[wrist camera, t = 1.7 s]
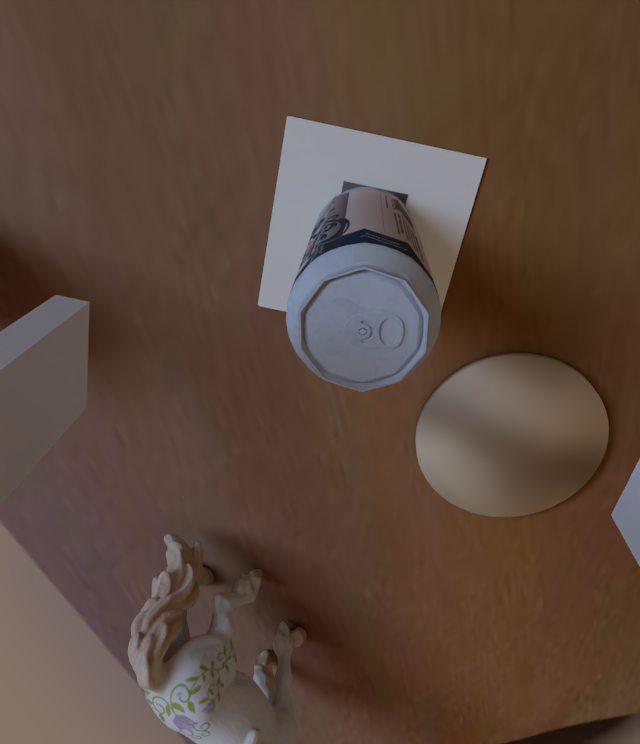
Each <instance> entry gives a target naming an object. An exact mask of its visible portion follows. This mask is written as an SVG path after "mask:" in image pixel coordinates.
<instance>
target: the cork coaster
mask: <svg viewBox="0 0 640 744" xmlns="http://www.w3.org/2000/svg"><path fill="white" fill-rule="evenodd" d="M608 436H609V424H608V417H607V413H606V409H605V407H604V404H603V402H602V400H601V398H600V397H599V395H598V393H597V392H596V390H595V389H594V388H593V386H592V385H591V384H590V383H589V381H588V380H587V379H586V378H585V377H584V376H583V375H582V374H580V373H579V372H578V371H577V370H576V369H574V368H573V367H571V366H569V365H568V364H566V363H564V362H562V361H559V360H557V359H555V358H552V357H548V356H545V355H541V354H535V353H528V352H511V353H501V354H496V355H491V356H487V357H484V358H481V359H478V360H475V361H473V362H471V363H469V364H467V365H465V366H463V367H461V368H460V369H458V370H456V371H455V372H453V373H452V374H451V375H449V376H448V377H447V378H445V379H444V380H443V381H442V382H441V383H440V384H439V385H438V386H437V387H436V388H435V389H434V391H433V392H432V393H431V395H430V396H429V397H428V399H427V400H426V402H425V404H424V406H423V408H422V410H421V413H420V415H419V418H418V422H417V426H416V435H415V442H416V452H417V457H418V462H419V465H420V468H421V470H422V472H423V474H424V476H425V478H426V479H427V481H428V483H429V484H430V485H431V486H432V487H433V489H434V490H435V491H436V492H437V493H438V494H439V495H441V496H442V497H443V498H444V499H446V500H447V501H449V502H450V503H452V504H453V505H455V506H457V507H459V508H461V509H464V510H466V511H469V512H472V513H476V514H480V515H485V516H491V517H517V516H523V515H529V514H533V513H537V512H540V511H543V510H546V509H548V508H551V507H553V506H555V505H557V504H559V503H561V502H563V501H564V500H566V499H567V498H569V497H571V496H572V495H573V494H575V493H576V492H577V491H578V490H579V489H581V488H582V487H583V486H584V485H585V484H586V483H587V482H588V481H589V479H590V478H591V477H592V476H593V474H594V473H595V472H596V470H597V468H598V467H599V465H600V463H601V461H602V459H603V456H604V454H605V451H606V447H607V443H608Z"/></svg>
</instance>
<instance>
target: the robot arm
mask: <svg viewBox="0 0 640 744" xmlns="http://www.w3.org/2000/svg"><path fill="white" fill-rule="evenodd" d="M89 303H90V302H88V301H83V300H79V299H74V298H69V297H64V296H59V295H55V296H53V297H52V298H50V299H49V300H47V301H46V302H44V303H43V304H41V305H40V306H38V307H37V308H35V309H34V310H32V311H31V312H29V313H28V314H26V315H25V316H23V317H21V318H20V319H18V320H17V321H15V322H14V323H12V324H11V325H9V326H8V327H6V328H5V329H3V330H2V331H0V505H1V504H2V503H3V502H4V501H5V499H6V498H7V497H8V496H9V495H10V494H11V493H12V491H13V490H14V489H15V488H16V487H17V486H18V485H19V483H20V482H21V481H22V480H23V479H24V478H25V477H26V476H27V474H28V473H29V472H30V471H31V470H32V469H33V468H34V466H35V465H36V464H37V463H38V462H39V461H40V460H41V459H42V457H43V456H44V455H45V454H46V453H47V452H48V451H49V449H50V448H51V447H52V446H53V445H54V444H55V443H56V442H57V440H58V439H59V438H60V437H61V436H62V435H63V434H64V432H65V431H66V430H67V429H68V428H69V427H70V426H71V425H72V423H73V422H74V421H75V420H76V419H77V418H78V417H79V415H80V414H81V413H82V412H83V411H84V410H85V409H86V407H87V374H88V338H89ZM611 516H612V518H613V520H614V522H615V523H616V525H617V527H618V529H619V530H620V532H621V534H622V536H623V538H624V539H625V541H626V543H627V545H628V546H629V548H630V550H631V552H632V554H633V555H634V557H635V559H636V561H637V562H638V564H639V566H640V459H639V461H638V463H637V465H636V467H635V469H634V471H633V473H632V475H631V477H630V479H629V481H628V483H627V485H626V487H625V489H624V491H623V493H622V495H621V497H620V498H619V500H618V502H617V504H616V506H615V508H614V510H613V512H612V514H611Z"/></svg>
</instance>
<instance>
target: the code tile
mask: <svg viewBox="0 0 640 744" xmlns="http://www.w3.org/2000/svg"><path fill="white" fill-rule="evenodd" d="M486 160H487V158H483V157H479V156H474V155H469V154H464V153H460V152H455V151H450V150H446V149H441V148H436V147H432V146H427V145H422V144H418V143H413V142H408V141H404V140H399V139H394V138H390V137H385V136H380V135H376V134H371V133H366V132H362V131H357V130H352V129H347V128H343V127H338V126H333V125H329V124H324V123H319V122H315V121H310V120H305V119H301V118H296V117H291V116H287V120H286V127H285V133H284V140H283V146H282V153H281V159H280V165H279V172H278V178H277V185H276V191H275V198H274V204H273V210H272V217H271V223H270V230H269V236H268V243H267V249H266V255H265V262H264V268H263V275H262V281H261V288H260V294H259V300H258V306H261V307H266V308H271V309H276V310H281V311H285V312H287V302H288V298H289V295H290V292H291V289H292V286H293V284H294V281H295V278H296V275H297V273H298V270H299V267H300V264H301V262H302V259H303V256H304V254H305V251H306V248H307V245H308V243H309V240H310V237H311V234H312V232H313V229H314V226H315V224H316V221H317V219H318V217H319V215H320V213H321V211H322V210H323V209H324V207H325V206H326V205H327V204H328V202H329V201H330V200H332V199H333V198H334V197H335V196H337V195H339V194H340V193H342V192H344V191H346V190H350V189H353V188H356V187H375V188H379V189H382V190H385V191H387V192H389V193H391V194H393V195H395V196H396V197H397V198H399V199H400V200H401V201H402V202H403V203H404V205H405V206H406V207H407V209H408V210H409V211H410V213H411V215H412V217H413V220H414V222H415V225H416V228H417V231H418V234H419V237H420V240H421V243H422V247H423V250H424V253H425V256H426V259H427V262H428V265H429V268H430V271H431V274H432V277H433V280H434V284H435V287H436V290H437V293H438V296H439V300H440V305H441V310H442V307H443V303H444V300H445V297H446V293H447V290H448V287H449V283H450V280H451V277H452V273H453V270H454V267H455V263H456V260H457V257H458V253H459V250H460V247H461V243H462V240H463V237H464V233H465V230H466V227H467V223H468V220H469V217H470V213H471V210H472V207H473V203H474V200H475V197H476V193H477V190H478V187H479V183H480V180H481V177H482V173H483V170H484V167H485V163H486Z"/></svg>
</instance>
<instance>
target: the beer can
mask: <svg viewBox="0 0 640 744" xmlns="http://www.w3.org/2000/svg"><path fill="white" fill-rule="evenodd" d="M286 322H287V329H288V335H289V338H290V340H291V343H292V345H293V347H294V349H295V352H296V353H297V354H298V356H299V357H300V358H301V359H302V361H303V362H304V363H305V364H306V366H307V367H308V368H309V369H310V370H311V371H313V372H314V373H315V374H316V375H318V376H319V377H321V378H322V379H323V380H325V381H328V382H331V383H334V384H337V385H339V386H341V387H346V388H350V389H354V390H357V391H360V392H363V391H367V390H371V389H375V388H382V387H384V386H387V385H390V384H393V383H397V382H400V381H401V380H403V379H405V378H406V377H408V376H409V375H410V374H412V373H413V372H414V371H416V370H417V369H418V367H419V366H420V365H421V364H422V363H423V362H424V361H425V360H426V359H427V357H428V356H429V355H430V353H431V351H432V349H433V347H434V345H435V343H436V341H437V338H438V335H439V330H440V325H441V305H440V300H439V296H438V293H437V290H436V287H435V284H434V280H433V277H432V274H431V271H430V268H429V265H428V262H427V259H426V256H425V253H424V250H423V247H422V243H421V240H420V237H419V234H418V231H417V228H416V225H415V222H414V220H413V217H412V215H411V213H410V211H409V210H408V209H407V207H406V206H405V205H404V203H403V202H402V201H401V200H400V199H399V198H397V197H396V196H395V195H393V194H391V193H389V192H387V191H385V190H382V189H379V188H375V187H356V188H353V189H350V190H346V191H344V192H342V193H340V194H339V195H337V196H335V197H334V198H333V199H332V200H330V201H329V202H328V204H327V205H326V206H325V207H324V209H323V210H322V211H321V213H320V215H319V217H318V219H317V221H316V224H315V226H314V229H313V232H312V234H311V237H310V240H309V243H308V245H307V248H306V251H305V254H304V256H303V259H302V262H301V264H300V267H299V270H298V273H297V275H296V278H295V281H294V284H293V286H292V289H291V292H290V295H289V298H288V302H287V315H286Z"/></svg>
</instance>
